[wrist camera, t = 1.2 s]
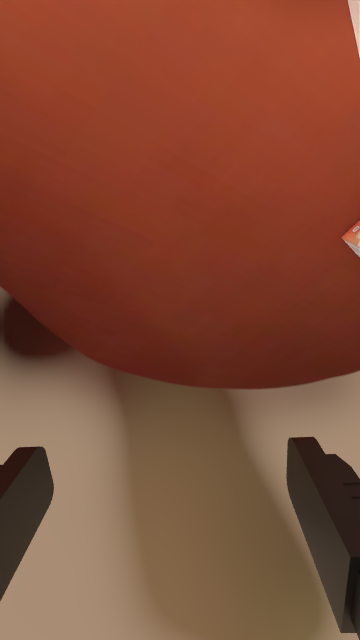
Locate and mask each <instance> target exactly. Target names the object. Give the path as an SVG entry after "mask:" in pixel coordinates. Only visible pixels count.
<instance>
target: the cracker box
mask: <svg viewBox="0 0 360 640" xmlns="http://www.w3.org/2000/svg"><path fill="white" fill-rule="evenodd" d="M342 239H343V240H344V241H345V242H346V243H347V244H348V245H349V246H350V247H351V249H352V250H353V251H354V252H355V253H356V254H357V255H358V256H359V257H360V220H359V221H358V222H357V223H356V224H355V225H354V226H353V227H352V228H351V229H350V230H348V231H347V232H346V233H345V234H344V235H343V236H342Z"/></svg>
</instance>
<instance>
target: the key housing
mask: <svg viewBox="0 0 360 640" xmlns="http://www.w3.org/2000/svg"><path fill="white" fill-rule="evenodd" d="M348 4H349V9H350V14H351V18H352V23H353V28H354V33H355V37H356V42H357V47H358V52H359V56H360V0H348Z"/></svg>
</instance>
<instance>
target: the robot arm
mask: <svg viewBox="0 0 360 640" xmlns="http://www.w3.org/2000/svg"><path fill="white" fill-rule="evenodd" d="M287 486H288V491H289V495H290V499H291V501H292V504H293V507H294V509H295V512H296V515H297V517H298V520H299V523H300V525H301V528H302V531H303V533H304V536H305V539H306V541H307V544H308V547H309V549H310V552H311V555H312V557H313V560H314V563H315V565H316V568H317V571H318V573H319V576H320V579H321V581H322V584H323V587H324V589H325V592H326V595H327V597H328V600H329V603H330V605H331V608H332V611H333V613H334V616H335V619H336V621H337V624H338V627H339V629H340V632H341V633H357V635H358V638H359V640H360V479H359V477H358V476H357V474H356V473H355V472H354V470H353V469H352V467H351V466H350V465H348V464H347V463H346V462H345V461H343V460H342V459H341V458H339V457H338V456H337V455H336V454H325V453H324V451H323V450H322V448H321V446H320V445H319V443H318V441H317V440H316V439H315V438H314V437H297V438H289V440H288V451H287ZM53 491H54V484H53V479H52V475H51V471H50V467H49V463H48V459H47V455H46V451H45V449H44V448H43V447H20V448H17V449H16V450H15V451H14V452H13V453H12V454H11V456H10V457H9V458H8V459H7V461H6V462H5V463H4V464H3V465H0V601H1V599H2V597H3V595H4V593H5V591H6V589H7V587H8V585H9V583H10V581H11V579H12V577H13V575H14V573H15V571H16V570H17V568H18V566H19V564H20V562H21V560H22V558H23V556H24V554H25V552H26V550H27V548H28V546H29V544H30V542H31V540H32V538H33V537H34V535H35V532H36V531H37V529H38V527H39V525H40V523H41V521H42V519H43V517H44V515H45V513H46V511H47V509H48V507H49V505H50V503H51V500H52V497H53Z"/></svg>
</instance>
